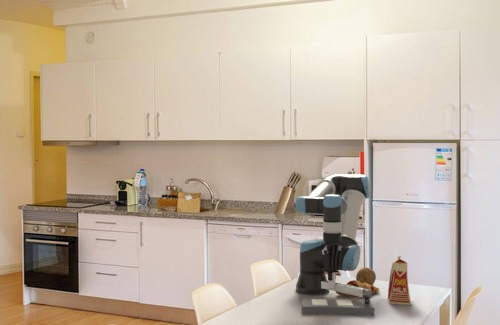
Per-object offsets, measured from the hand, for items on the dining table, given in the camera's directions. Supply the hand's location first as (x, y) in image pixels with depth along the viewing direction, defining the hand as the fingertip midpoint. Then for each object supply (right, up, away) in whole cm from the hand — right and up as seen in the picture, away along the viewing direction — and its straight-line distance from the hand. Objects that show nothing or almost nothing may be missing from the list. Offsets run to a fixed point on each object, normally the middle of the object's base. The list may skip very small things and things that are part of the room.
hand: (331, 287), depth 235 cm
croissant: (+14, -7, +15) cm, 22 cm away
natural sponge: (+20, -7, +26) cm, 33 cm away
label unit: (+1, -7, -9) cm, 12 cm away
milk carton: (+30, -7, +5) cm, 31 cm away
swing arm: (+6, -2, -3) cm, 6 cm away
